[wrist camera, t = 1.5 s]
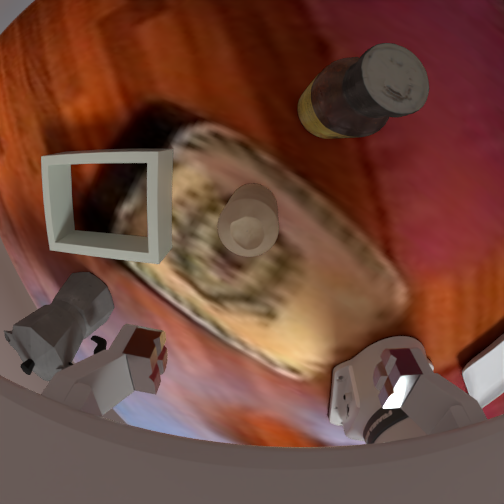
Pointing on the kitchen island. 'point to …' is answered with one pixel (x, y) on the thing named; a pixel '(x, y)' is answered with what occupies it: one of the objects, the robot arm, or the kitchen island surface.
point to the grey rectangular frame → (109, 244)
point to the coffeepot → (62, 326)
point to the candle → (249, 221)
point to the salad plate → (486, 373)
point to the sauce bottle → (363, 93)
